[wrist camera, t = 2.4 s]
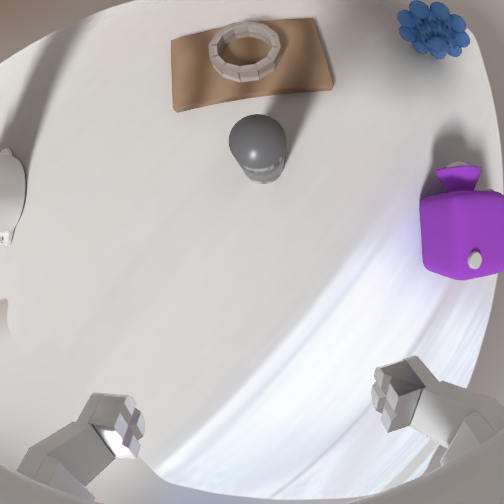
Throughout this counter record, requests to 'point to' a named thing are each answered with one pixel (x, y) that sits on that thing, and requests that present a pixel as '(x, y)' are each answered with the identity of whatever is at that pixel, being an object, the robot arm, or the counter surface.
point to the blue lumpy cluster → (433, 29)
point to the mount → (247, 63)
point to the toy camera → (462, 226)
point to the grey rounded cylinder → (259, 147)
